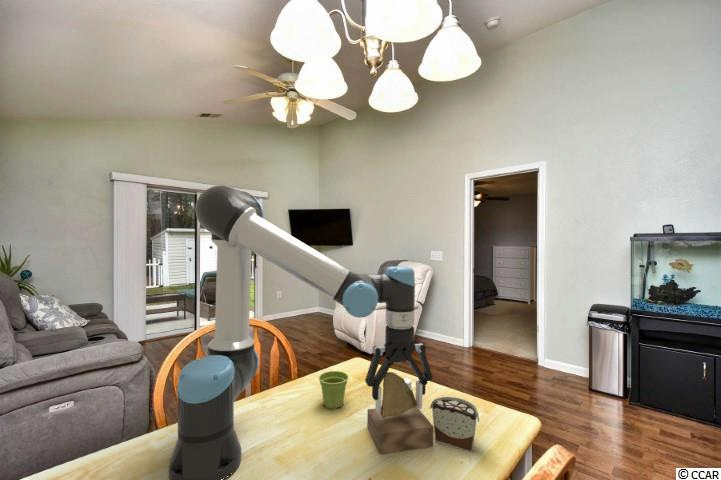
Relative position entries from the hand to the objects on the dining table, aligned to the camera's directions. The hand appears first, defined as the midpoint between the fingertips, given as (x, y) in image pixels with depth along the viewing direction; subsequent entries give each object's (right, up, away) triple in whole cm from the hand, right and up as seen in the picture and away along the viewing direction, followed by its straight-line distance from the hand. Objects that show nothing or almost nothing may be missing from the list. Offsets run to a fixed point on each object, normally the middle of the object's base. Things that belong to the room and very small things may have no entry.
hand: (398, 408), depth 91 cm
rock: (0, -1, 0) cm, 1 cm away
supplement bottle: (+3, -7, +15) cm, 17 cm away
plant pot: (-19, -7, +17) cm, 26 cm away
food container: (+15, -8, -1) cm, 17 cm away
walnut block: (0, -7, 0) cm, 7 cm away
